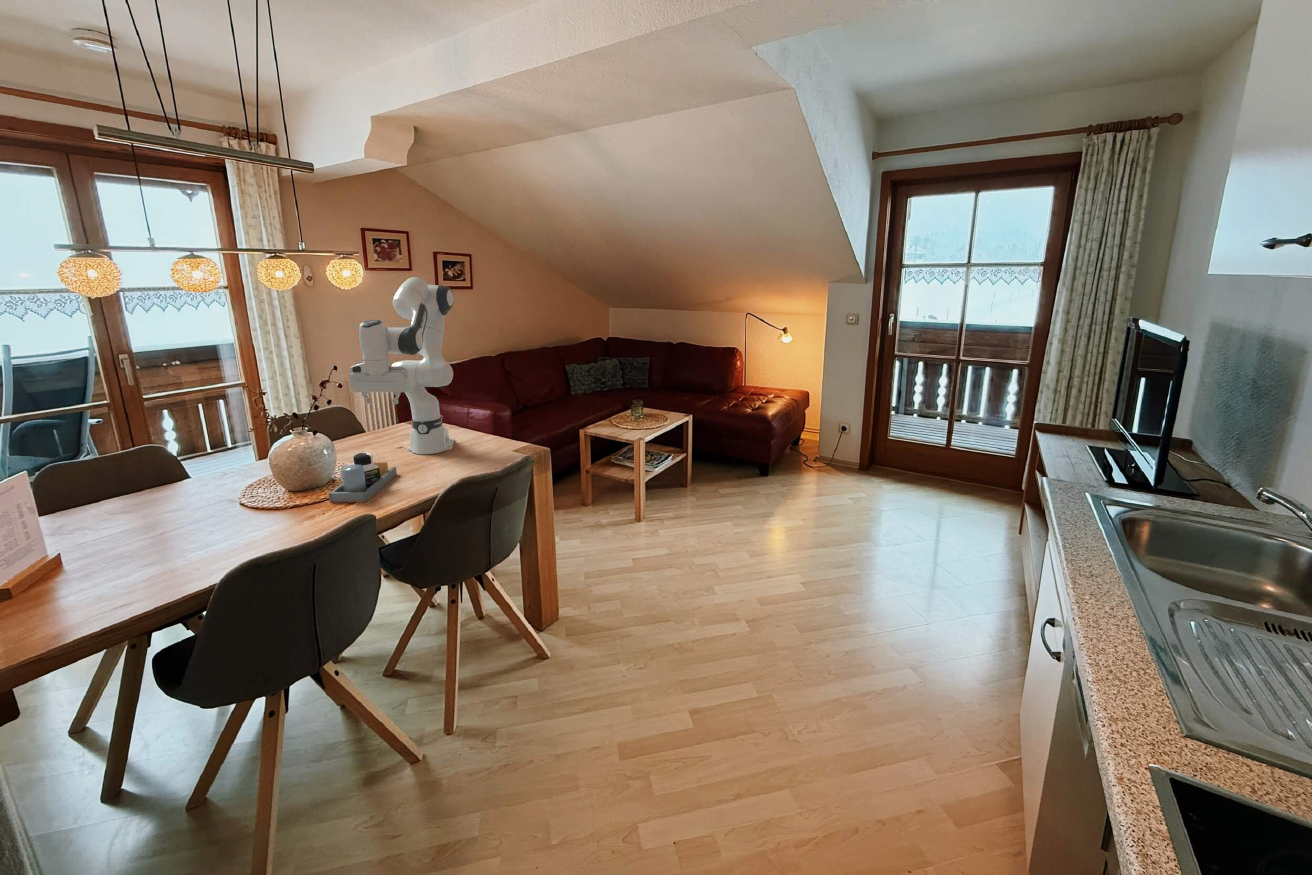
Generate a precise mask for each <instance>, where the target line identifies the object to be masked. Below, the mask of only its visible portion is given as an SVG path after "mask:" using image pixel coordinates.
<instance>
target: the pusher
mask: <svg viewBox="0 0 1312 875" xmlns="http://www.w3.org/2000/svg"><path fill="white" fill-rule="evenodd" d="M373 465H376V466H378V467H379V470H380V477H382V476H383V475H384V474H385V473H386V472H387V471H389V464H388V461H373Z"/></svg>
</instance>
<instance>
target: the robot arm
mask: <svg viewBox="0 0 1312 875" xmlns="http://www.w3.org/2000/svg"><path fill="white" fill-rule="evenodd" d="M392 298H393V299H392V307H393V309H394V312H396V313H397V314H398V315H399V316H400V317H401V318H403V319H406V320H409V321H411V323H410V325H409V326H405V327H404V326H403V327H401V326H399V327H397V326H396V327H395V326H394V327H392V326H386V325H384V322H383V321H382V320H380V319H370V320H364V321H363V322H361V323H360V324H359V328H358V329H359V331H358V332H359V333H358V336H359V337H358V338H359V345H360V346H359V347H360V349H361V352H362V361H361V362H359V363H356V364H354V365H352V366H350V367H349V372H350V374H349V376H348V384H349V390H350V391H351V392H352V393H360V394H361V396H362V397H363V399H364V400H365V404H366V405H371V404H372V403H373V399H372V398H370V397H369V396H368V394H369V393H393V394H394V398H392V399H391V402H392V404H393V405H398V404H399V398H400V396H401V393H404V394H405V395H406V397H407V398H408V402H409V404H410V410H411V416H412V417H411V428H412V429H411V430H410V431H409V446H407V451H409V452H412V453H413V454H416V455H432V454H439V453H443V452H445V451H446V452H447V451H451V450H453V447H454V443H455V438H453V437H449V436H450V435H449V430H448V428H447V427H446V426H444V424H443V414H441V412H440V404H439V403H440V402H439V400H438V398H437V397H436V396H435V395H433V394H431V393H429V392H428V390H426V387H427V388H428V387H429V388H433V387H434V388H440V387H445V386H448V385H449V384H451V382H452V380H453V379H454V378H453V377H454V371H453V368H452V366H451V364H450V363H448V362H447V361H446V360H445V359H444V357H443V354H442V347H443V342H444V341H443V340H444V335H445V327H446V326H445V325H446V324H445V323H446V322H445V321H446V320H445V316H446V315H447V314H448V313H449V312H450V311H451V310H452V308H453V307H454V303H455V298H454V292H453V290H452V289H451V288H450V287H449V286H447V285H442V284H440V285H436V284H428V283H427V282H426V281H425V280H424V279H422V278H420V277H417V276H412V277H409V278H407V279H406V280H405V281H404V282H402V284H401V285H400V286H399V287H398V288H397V290H396V292H395V294H394V296H393V297H392ZM389 354H395V355H397V354H398V355H400V354H401V355H409V356H410V355H411V356H415V355H417V354H419V355H421V356H422V357H423V358H422V360H418V359H417V360H414V359H413V360H412V359H411V360H409V359H407V360H406V359H405V360H399V361H395V362H393V363H392V364H391V360H390V355H389Z"/></svg>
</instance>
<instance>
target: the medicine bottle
mask: <svg viewBox="0 0 1312 875" xmlns="http://www.w3.org/2000/svg"><path fill="white" fill-rule="evenodd" d="M373 462H374V458H373V454H372V453H370V452H360V453H356V454H354V455H353V465H363V467H364V474H365V481H366V488H367V489H368V488H369V487H370V486H372V485H373V484H374V483H375V482H376V481H377V480H378V479H380V478H381V477H380V470H379V467H378V466H376V465H373Z"/></svg>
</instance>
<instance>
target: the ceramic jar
mask: <svg viewBox="0 0 1312 875" xmlns="http://www.w3.org/2000/svg"><path fill="white" fill-rule="evenodd" d="M340 476H341V483H343V490H344V492H365V491H366V490H367V488H366V481H365V474H364V467H363V465H354V464H350V465H346V466H343V467H341V468H340Z"/></svg>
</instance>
